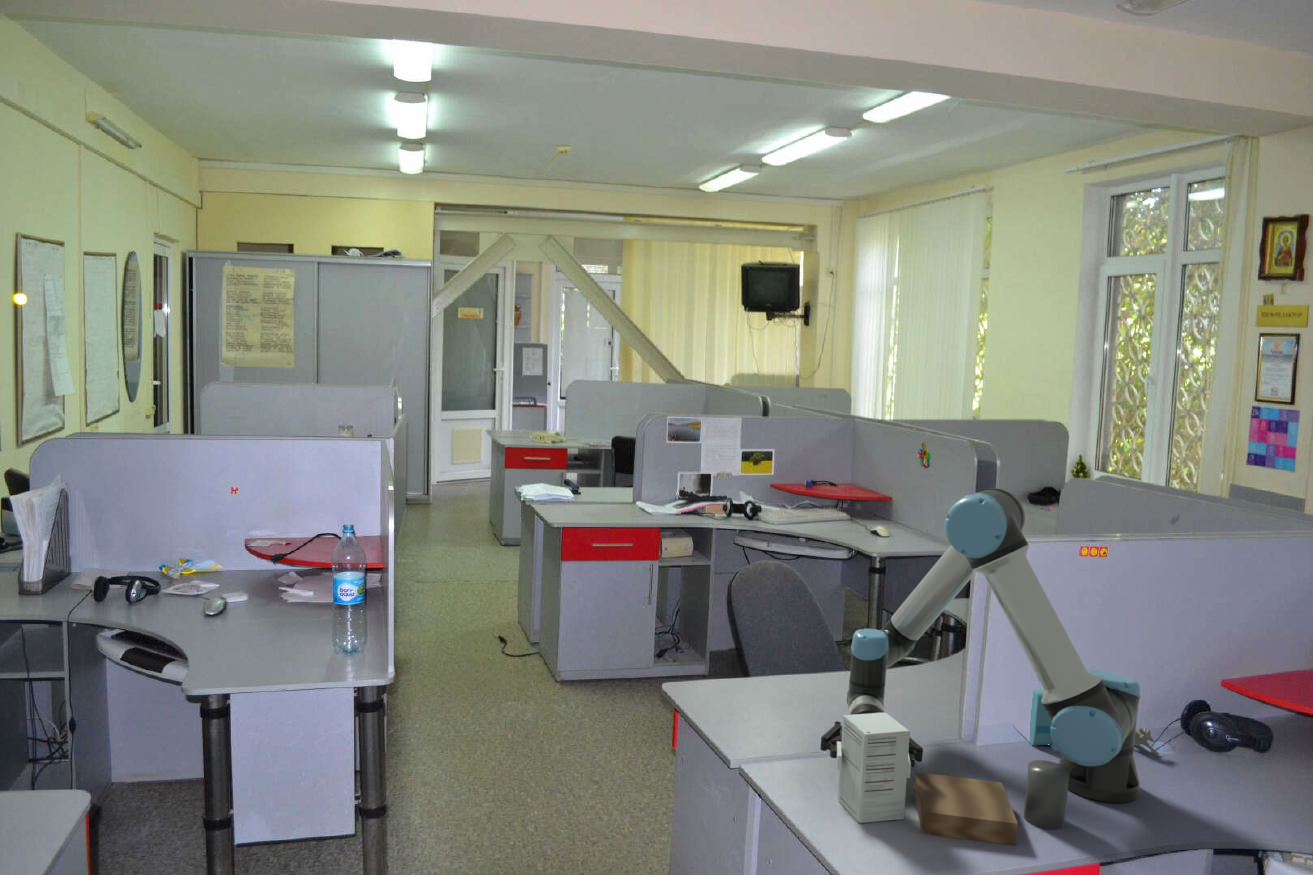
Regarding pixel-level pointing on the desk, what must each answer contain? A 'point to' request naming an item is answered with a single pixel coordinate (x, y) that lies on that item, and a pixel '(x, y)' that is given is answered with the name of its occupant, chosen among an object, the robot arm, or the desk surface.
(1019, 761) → the desk surface
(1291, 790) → the desk surface
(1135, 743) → the pale grey branched piece
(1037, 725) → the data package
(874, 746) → the supplement box
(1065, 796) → the dark grey cylinder
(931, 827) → the podium
